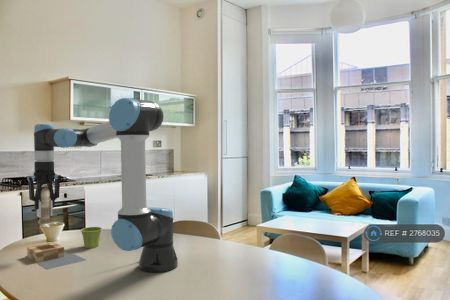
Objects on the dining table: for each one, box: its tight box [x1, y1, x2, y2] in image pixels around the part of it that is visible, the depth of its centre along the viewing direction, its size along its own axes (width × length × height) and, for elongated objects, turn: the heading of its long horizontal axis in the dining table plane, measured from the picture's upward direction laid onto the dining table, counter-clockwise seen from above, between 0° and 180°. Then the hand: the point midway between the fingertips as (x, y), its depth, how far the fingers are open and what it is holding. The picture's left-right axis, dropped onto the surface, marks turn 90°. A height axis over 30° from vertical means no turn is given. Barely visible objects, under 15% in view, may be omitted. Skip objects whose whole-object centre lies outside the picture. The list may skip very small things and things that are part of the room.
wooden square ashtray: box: [26, 241, 65, 263], centre depth 162 cm, size 11×11×4 cm
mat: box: [24, 249, 87, 270], centre depth 160 cm, size 24×16×1 cm, turn 46°
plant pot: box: [80, 226, 103, 249], centre depth 178 cm, size 9×9×9 cm
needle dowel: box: [39, 185, 51, 225], centre depth 162 cm, size 4×4×16 cm
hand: (44, 215), depth 162 cm, fingers closed on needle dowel, 4 cm apart
